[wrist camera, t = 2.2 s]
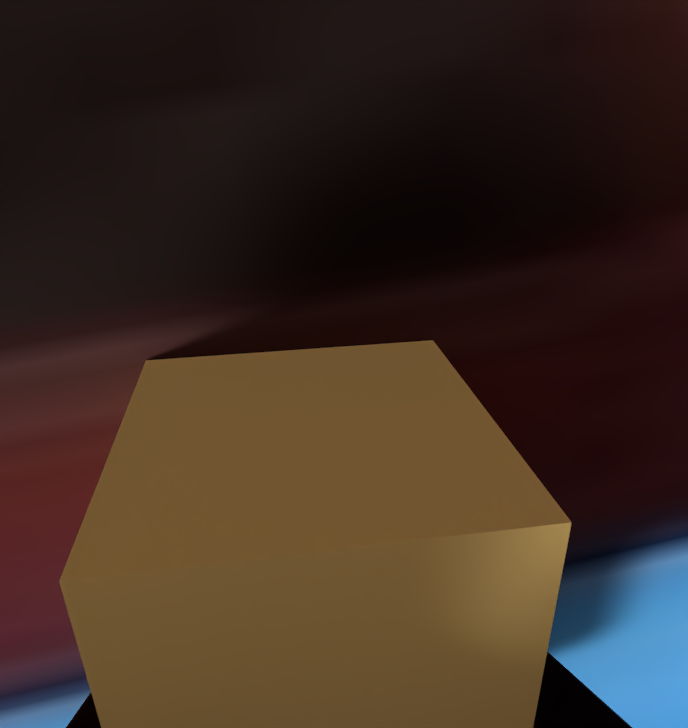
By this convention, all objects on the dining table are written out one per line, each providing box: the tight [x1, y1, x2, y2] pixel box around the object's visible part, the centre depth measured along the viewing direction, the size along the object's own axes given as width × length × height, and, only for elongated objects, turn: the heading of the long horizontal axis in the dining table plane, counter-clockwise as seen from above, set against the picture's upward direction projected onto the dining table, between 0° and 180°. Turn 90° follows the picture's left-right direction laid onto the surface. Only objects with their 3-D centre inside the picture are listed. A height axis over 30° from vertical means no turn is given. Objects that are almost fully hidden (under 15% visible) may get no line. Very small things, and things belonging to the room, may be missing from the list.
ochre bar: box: [59, 340, 572, 728], centre depth 8 cm, size 8×4×4 cm, turn 0°
